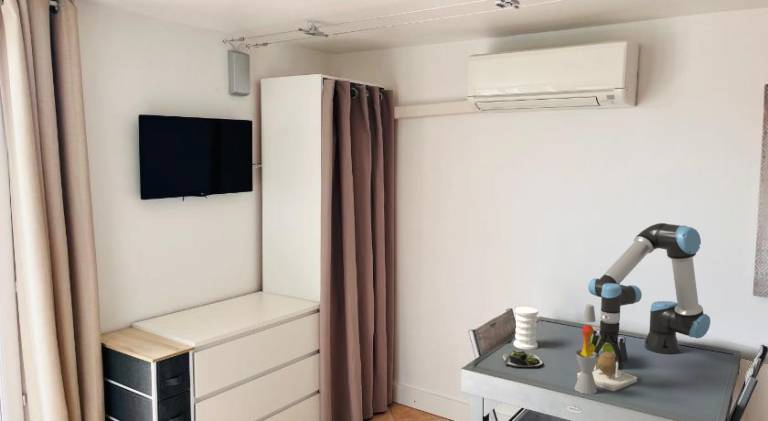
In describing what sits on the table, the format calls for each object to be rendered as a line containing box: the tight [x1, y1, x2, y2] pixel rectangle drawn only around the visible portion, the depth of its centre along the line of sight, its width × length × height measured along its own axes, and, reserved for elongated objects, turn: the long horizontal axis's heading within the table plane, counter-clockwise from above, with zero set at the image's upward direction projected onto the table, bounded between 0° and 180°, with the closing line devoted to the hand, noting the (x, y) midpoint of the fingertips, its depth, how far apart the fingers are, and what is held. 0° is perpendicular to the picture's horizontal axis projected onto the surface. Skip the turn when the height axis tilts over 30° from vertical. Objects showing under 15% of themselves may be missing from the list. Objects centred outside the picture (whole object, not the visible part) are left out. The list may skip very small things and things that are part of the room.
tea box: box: [589, 325, 619, 356], centre depth 266 cm, size 15×10×15 cm, turn 168°
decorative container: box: [513, 306, 539, 351], centre depth 288 cm, size 12×12×18 cm
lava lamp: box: [574, 303, 599, 395], centre depth 235 cm, size 9×9×35 cm
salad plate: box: [502, 349, 543, 370], centre depth 268 cm, size 19×18×5 cm
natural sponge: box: [597, 352, 618, 376], centre depth 247 cm, size 9×9×10 cm
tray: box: [576, 369, 638, 392], centre depth 247 cm, size 17×17×2 cm
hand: (607, 373), depth 247 cm, fingers open, 9 cm apart
